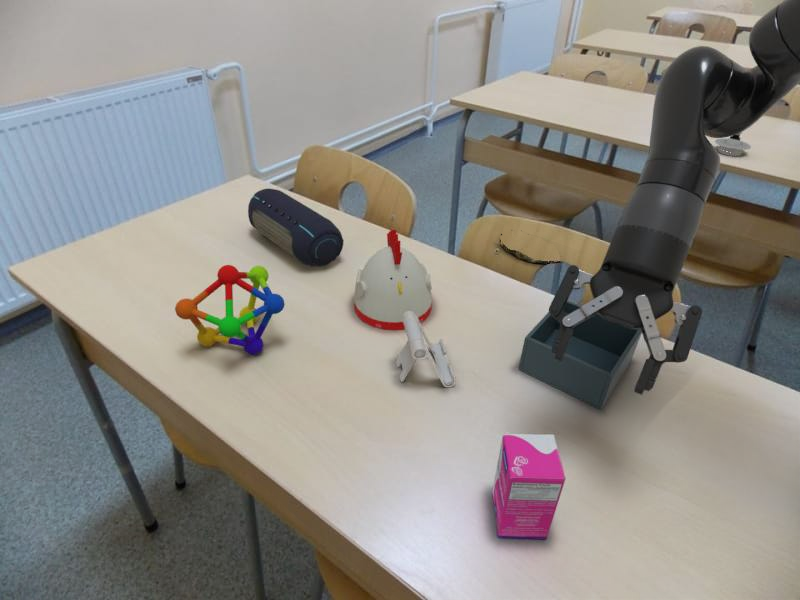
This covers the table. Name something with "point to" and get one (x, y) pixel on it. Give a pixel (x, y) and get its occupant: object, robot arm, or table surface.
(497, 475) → the supplement box
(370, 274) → the kitchen timer
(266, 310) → the educational toy
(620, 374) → the bin
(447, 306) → the table surface
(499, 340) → the table surface
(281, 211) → the portable speaker
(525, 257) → the dark brown curved strip
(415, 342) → the tablet stand
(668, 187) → the robot arm
